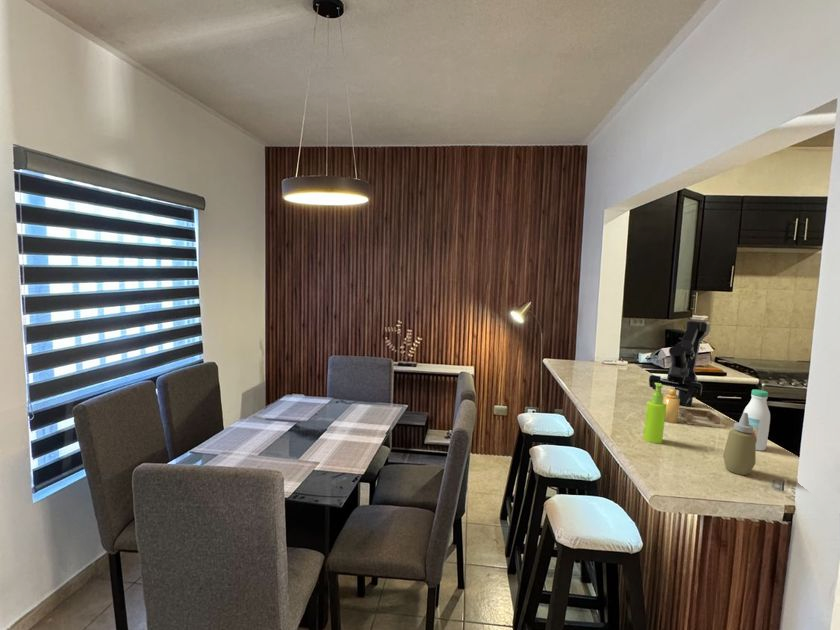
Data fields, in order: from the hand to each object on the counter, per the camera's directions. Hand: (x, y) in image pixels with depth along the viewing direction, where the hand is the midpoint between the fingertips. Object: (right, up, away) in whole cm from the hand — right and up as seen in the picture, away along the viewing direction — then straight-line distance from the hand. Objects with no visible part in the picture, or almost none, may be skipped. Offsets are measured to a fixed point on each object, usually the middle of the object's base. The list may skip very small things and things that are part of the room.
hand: (671, 402), depth 183 cm
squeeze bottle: (-5, -12, -45) cm, 47 cm away
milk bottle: (+16, -11, -23) cm, 30 cm away
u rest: (+13, -8, +4) cm, 16 cm away
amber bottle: (0, -8, +1) cm, 8 cm away
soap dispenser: (-19, -9, -22) cm, 30 cm away
